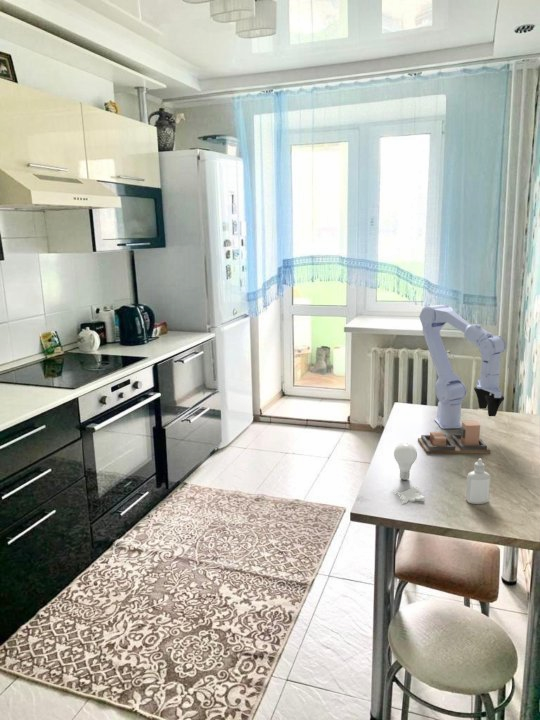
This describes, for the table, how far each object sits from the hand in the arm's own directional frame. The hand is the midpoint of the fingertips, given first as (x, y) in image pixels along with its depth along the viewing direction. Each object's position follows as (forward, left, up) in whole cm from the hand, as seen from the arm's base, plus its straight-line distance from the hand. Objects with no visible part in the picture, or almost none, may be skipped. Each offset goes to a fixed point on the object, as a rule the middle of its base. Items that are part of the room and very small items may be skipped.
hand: (487, 412), depth 179 cm
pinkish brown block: (+7, -8, -8) cm, 13 cm away
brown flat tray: (+7, -13, -9) cm, 17 cm away
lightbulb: (+29, -34, -10) cm, 46 cm away
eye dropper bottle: (+42, -18, -10) cm, 47 cm away
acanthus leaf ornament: (+39, -35, -10) cm, 53 cm away
